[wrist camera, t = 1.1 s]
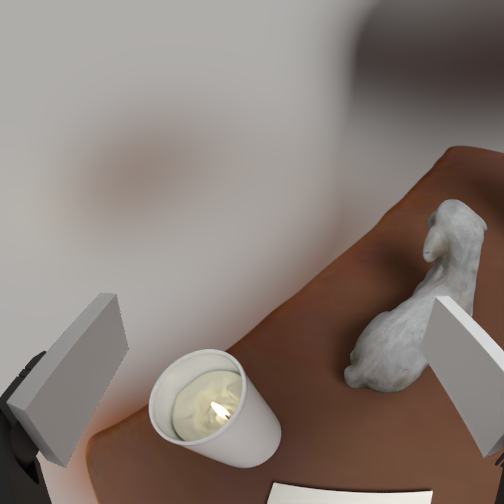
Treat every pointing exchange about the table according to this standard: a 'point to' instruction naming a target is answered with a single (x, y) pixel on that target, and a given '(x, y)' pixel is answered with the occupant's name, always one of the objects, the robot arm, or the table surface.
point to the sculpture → (420, 303)
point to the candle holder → (214, 410)
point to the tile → (342, 496)
